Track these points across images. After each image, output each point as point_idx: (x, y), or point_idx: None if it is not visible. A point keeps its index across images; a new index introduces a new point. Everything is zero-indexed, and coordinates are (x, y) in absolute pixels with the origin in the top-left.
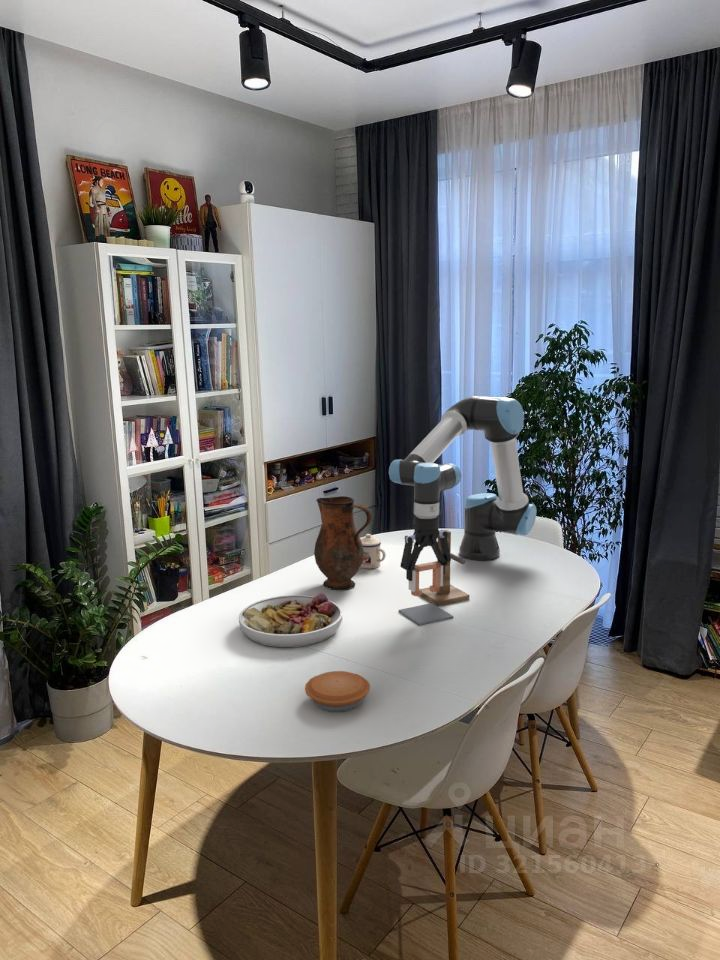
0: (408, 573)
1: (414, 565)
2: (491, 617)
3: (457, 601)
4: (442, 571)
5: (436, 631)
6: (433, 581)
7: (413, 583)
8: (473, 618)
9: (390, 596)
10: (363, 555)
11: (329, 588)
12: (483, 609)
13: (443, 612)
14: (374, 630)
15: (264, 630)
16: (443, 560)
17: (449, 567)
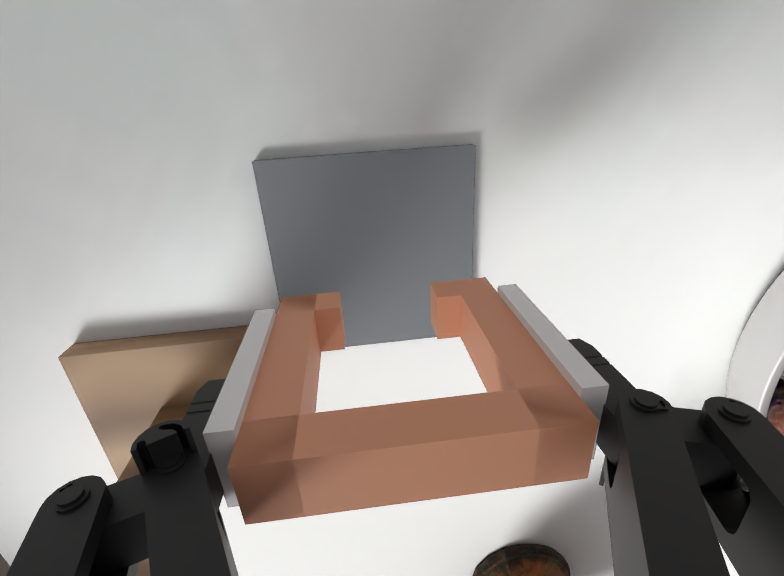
0: (627, 386)
1: (631, 437)
2: (6, 61)
3: (149, 337)
4: (229, 385)
5: (430, 22)
6: (317, 359)
7: (542, 315)
8: (136, 100)
9: None
10: None
11: (565, 560)
12: (28, 198)
13: (284, 228)
14: (678, 185)
15: None
16: (171, 494)
17: None
